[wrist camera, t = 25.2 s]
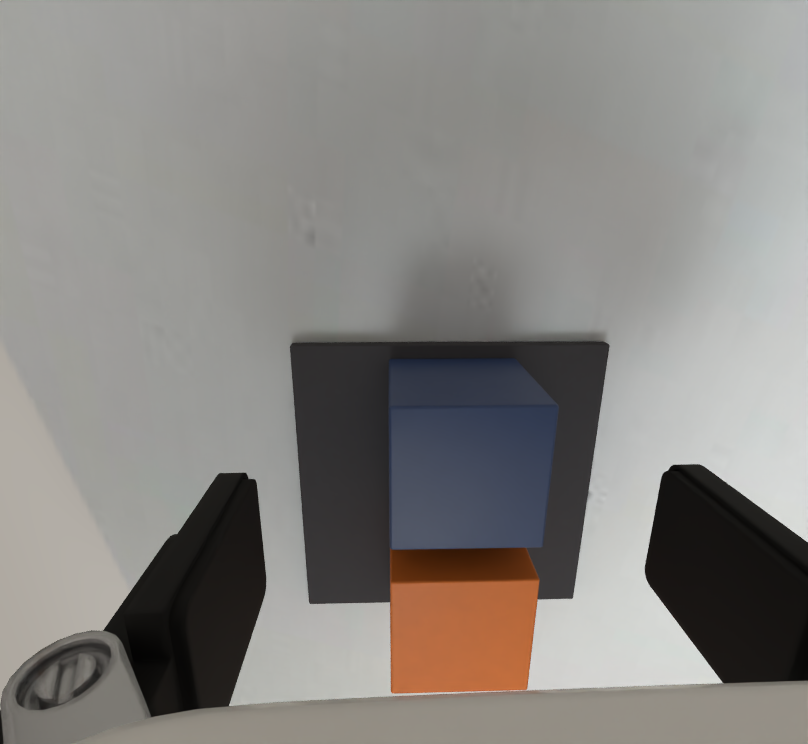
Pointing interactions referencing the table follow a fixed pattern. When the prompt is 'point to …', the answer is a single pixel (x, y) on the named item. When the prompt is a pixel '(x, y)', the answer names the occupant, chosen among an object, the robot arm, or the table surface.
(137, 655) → the robot arm
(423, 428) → the blue cube
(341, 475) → the mat
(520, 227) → the table surface
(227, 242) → the table surface
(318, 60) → the table surface
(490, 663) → the orange cube
